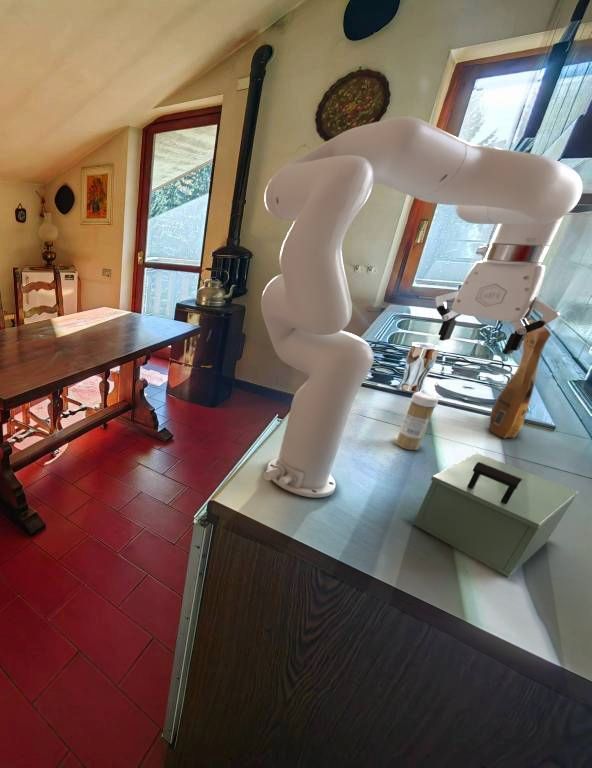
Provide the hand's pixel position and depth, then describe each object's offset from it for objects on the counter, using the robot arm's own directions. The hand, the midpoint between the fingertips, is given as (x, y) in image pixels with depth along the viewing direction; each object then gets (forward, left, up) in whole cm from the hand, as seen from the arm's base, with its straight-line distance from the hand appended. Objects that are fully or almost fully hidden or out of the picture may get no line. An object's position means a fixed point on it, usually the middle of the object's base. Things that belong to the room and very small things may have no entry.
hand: (474, 346), depth 77 cm
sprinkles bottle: (+5, +6, -28) cm, 29 cm away
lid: (-18, -15, -18) cm, 29 cm away
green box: (-17, -15, -28) cm, 36 cm away
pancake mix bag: (+39, 0, -28) cm, 48 cm away
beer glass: (+46, +24, -28) cm, 59 cm away
